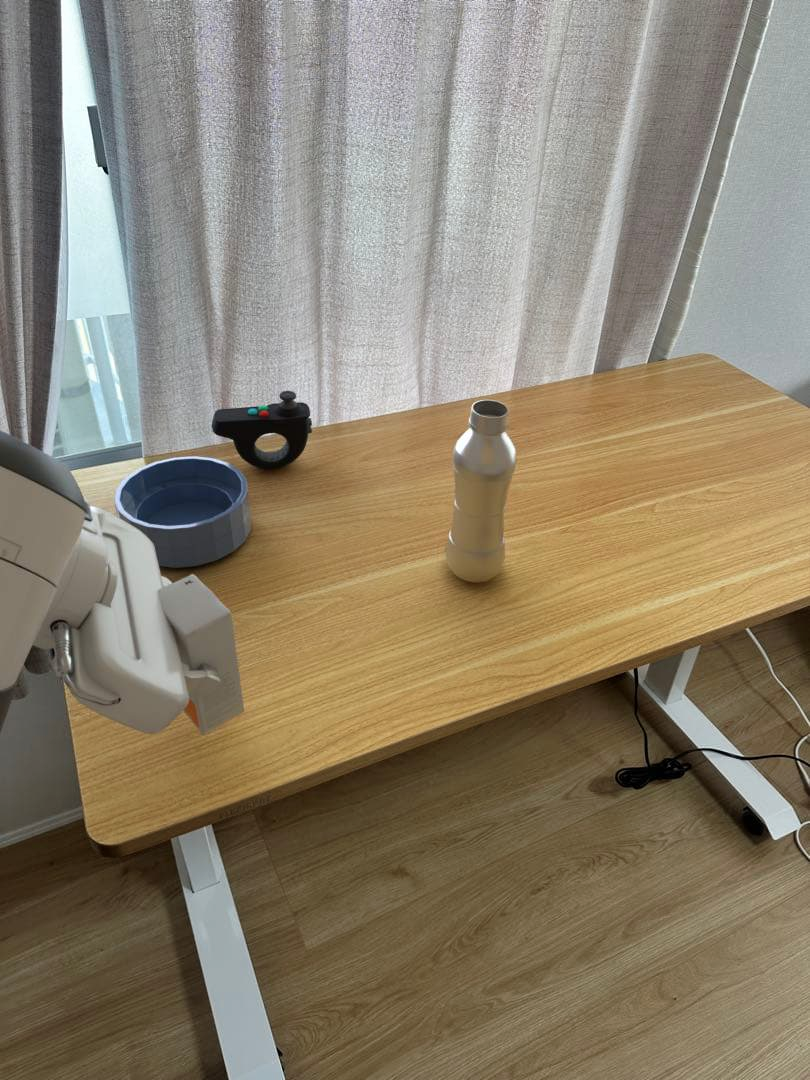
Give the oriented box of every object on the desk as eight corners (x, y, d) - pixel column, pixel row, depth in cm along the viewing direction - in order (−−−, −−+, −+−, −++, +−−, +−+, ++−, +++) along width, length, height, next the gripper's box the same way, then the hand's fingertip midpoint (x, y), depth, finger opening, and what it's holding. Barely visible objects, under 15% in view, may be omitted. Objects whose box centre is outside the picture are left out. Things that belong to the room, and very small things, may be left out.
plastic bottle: (459, 595, 85) (474, 431, 73) (434, 558, 90) (445, 397, 78) (513, 583, 87) (537, 420, 75) (486, 546, 92) (504, 388, 80)
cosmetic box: (167, 695, 70) (145, 593, 63) (210, 672, 73) (193, 571, 65) (202, 739, 67) (184, 636, 59) (247, 713, 69) (234, 611, 62)
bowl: (141, 587, 85) (131, 542, 81) (112, 516, 95) (102, 473, 91) (269, 551, 90) (265, 507, 87) (229, 487, 100) (223, 446, 97)
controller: (315, 470, 104) (312, 400, 98) (217, 478, 102) (208, 408, 96) (311, 452, 107) (308, 384, 101) (216, 460, 105) (207, 391, 99)
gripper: (88, 654, 49) (259, 717, 58) (68, 476, 63) (207, 548, 72) (27, 722, 50) (203, 773, 59) (21, 532, 65) (163, 596, 74)
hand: (205, 648), depth 66 cm, fingers closed on cosmetic box, 7 cm apart
